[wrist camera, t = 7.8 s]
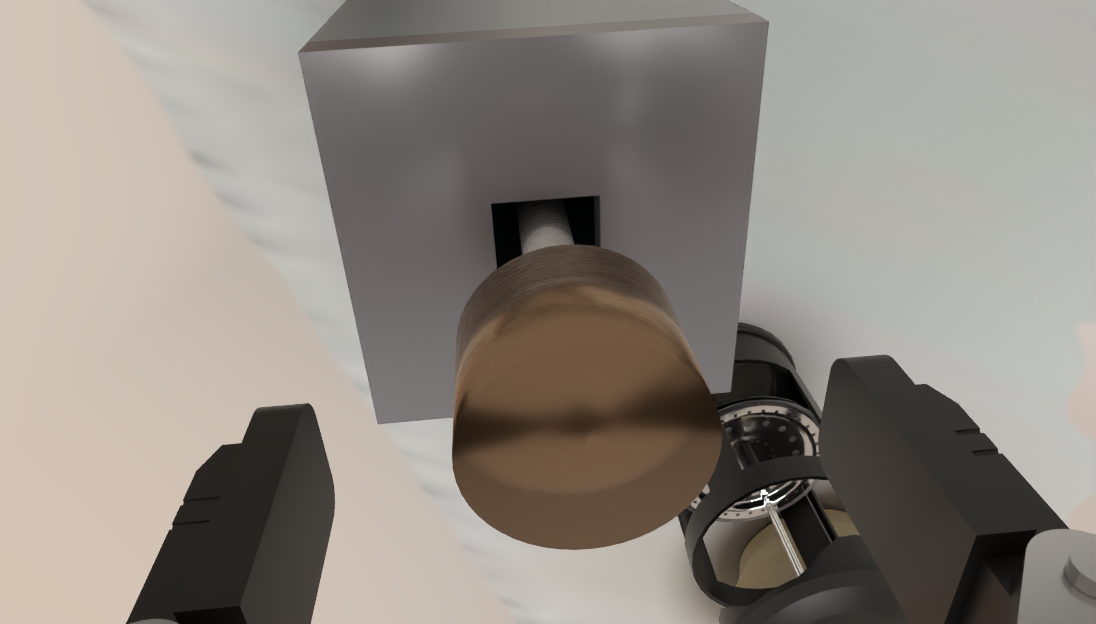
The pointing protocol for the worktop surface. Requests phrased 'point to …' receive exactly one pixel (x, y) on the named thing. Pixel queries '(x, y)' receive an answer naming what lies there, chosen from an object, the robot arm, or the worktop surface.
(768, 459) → the french press
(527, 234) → the plunger
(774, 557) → the planter bowl
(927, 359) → the worktop surface
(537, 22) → the block
